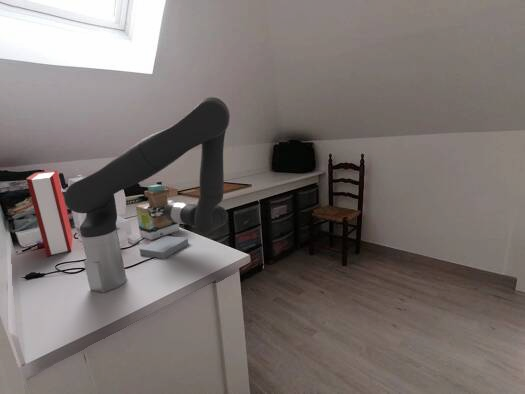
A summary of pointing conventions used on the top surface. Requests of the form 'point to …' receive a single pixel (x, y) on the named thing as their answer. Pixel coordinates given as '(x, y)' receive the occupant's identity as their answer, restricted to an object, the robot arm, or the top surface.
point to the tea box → (147, 227)
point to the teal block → (155, 188)
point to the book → (50, 211)
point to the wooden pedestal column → (158, 200)
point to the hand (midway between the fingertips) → (155, 207)
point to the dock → (164, 247)
